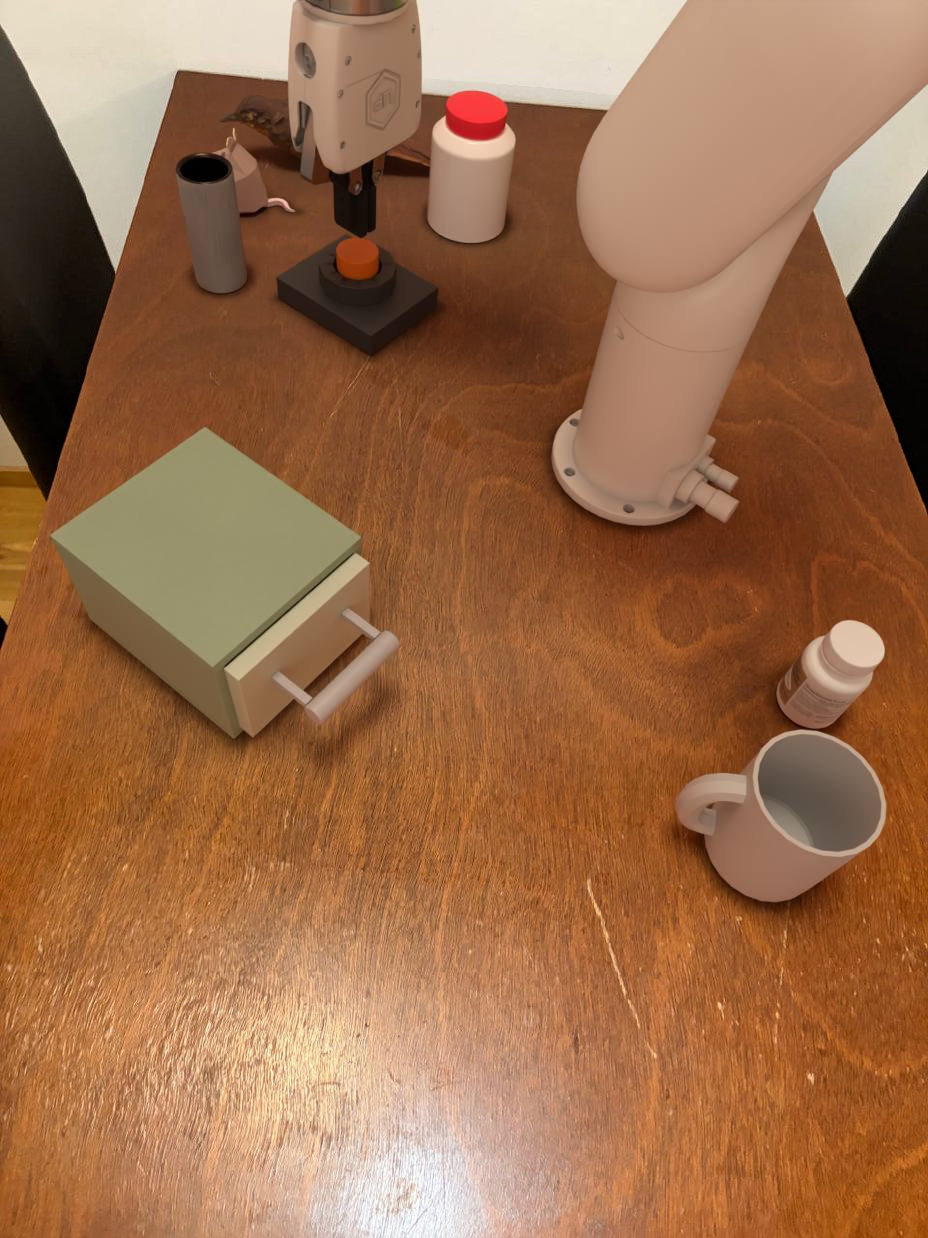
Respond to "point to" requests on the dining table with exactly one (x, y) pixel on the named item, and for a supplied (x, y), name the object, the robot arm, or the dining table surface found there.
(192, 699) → the cabinet
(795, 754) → the cup
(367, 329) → the control box
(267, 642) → the drawer
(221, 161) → the gray hollow cylinder
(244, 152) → the mouse figurine
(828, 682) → the pill bottle
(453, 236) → the pill bottle
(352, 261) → the button
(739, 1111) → the dining table surface
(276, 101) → the bird sculpture
